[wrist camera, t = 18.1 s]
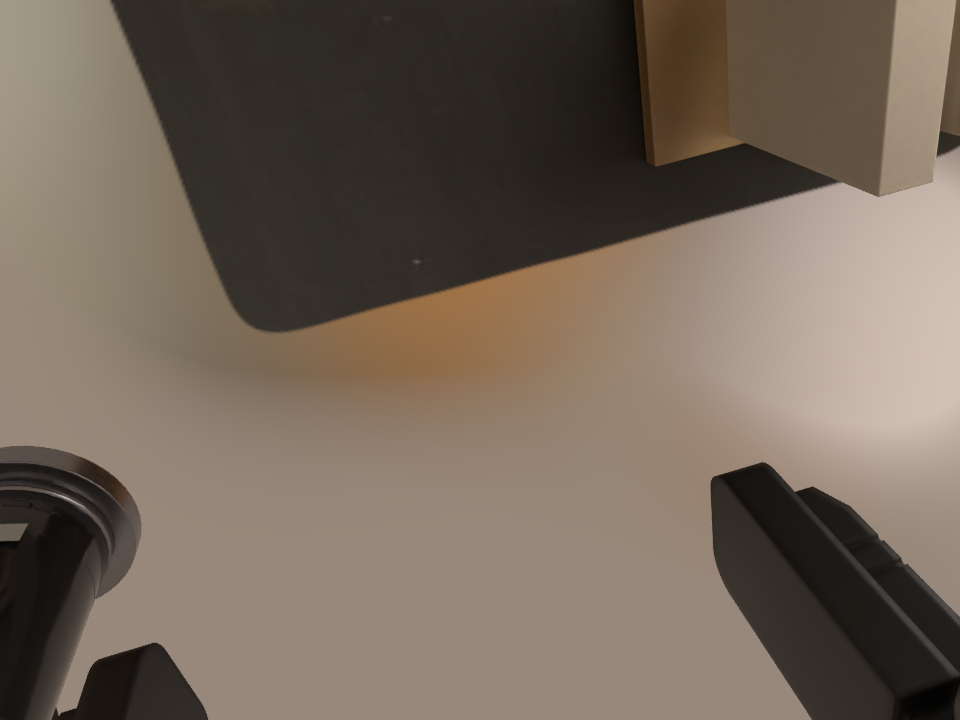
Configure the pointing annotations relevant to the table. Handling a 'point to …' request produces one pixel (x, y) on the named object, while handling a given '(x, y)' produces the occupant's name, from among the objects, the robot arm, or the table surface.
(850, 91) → the cream book
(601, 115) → the table surface
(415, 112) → the table surface
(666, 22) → the cream book rack
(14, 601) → the robot arm
